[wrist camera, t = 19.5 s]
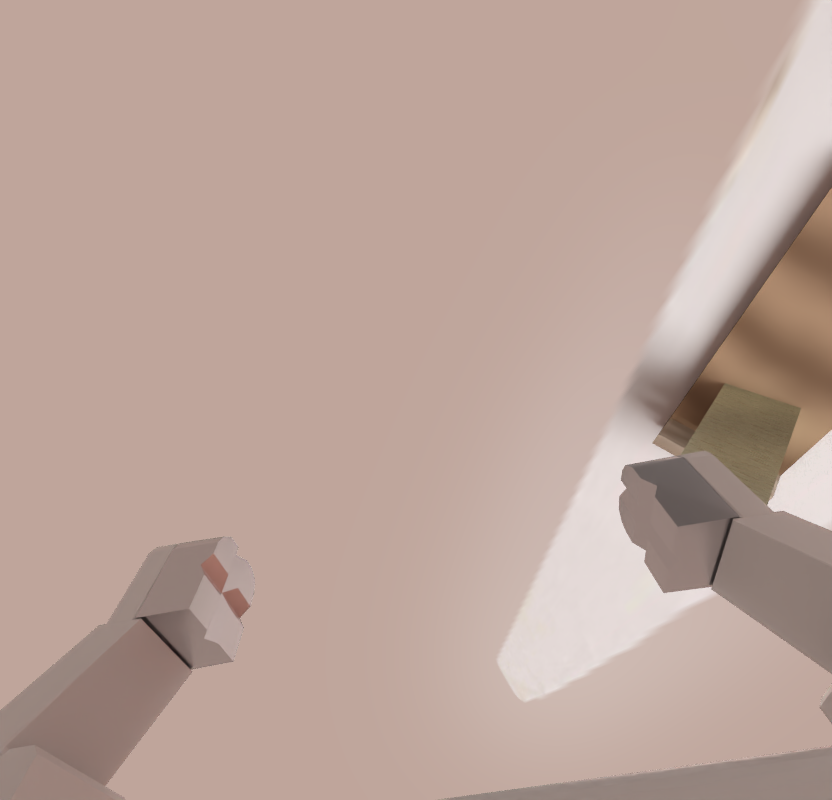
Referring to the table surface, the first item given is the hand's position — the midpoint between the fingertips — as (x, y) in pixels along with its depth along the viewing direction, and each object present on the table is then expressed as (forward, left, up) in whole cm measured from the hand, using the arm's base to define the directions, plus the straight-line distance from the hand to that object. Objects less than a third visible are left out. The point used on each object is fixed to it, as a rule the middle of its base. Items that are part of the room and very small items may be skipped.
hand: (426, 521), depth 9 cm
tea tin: (+9, +13, -33) cm, 37 cm away
